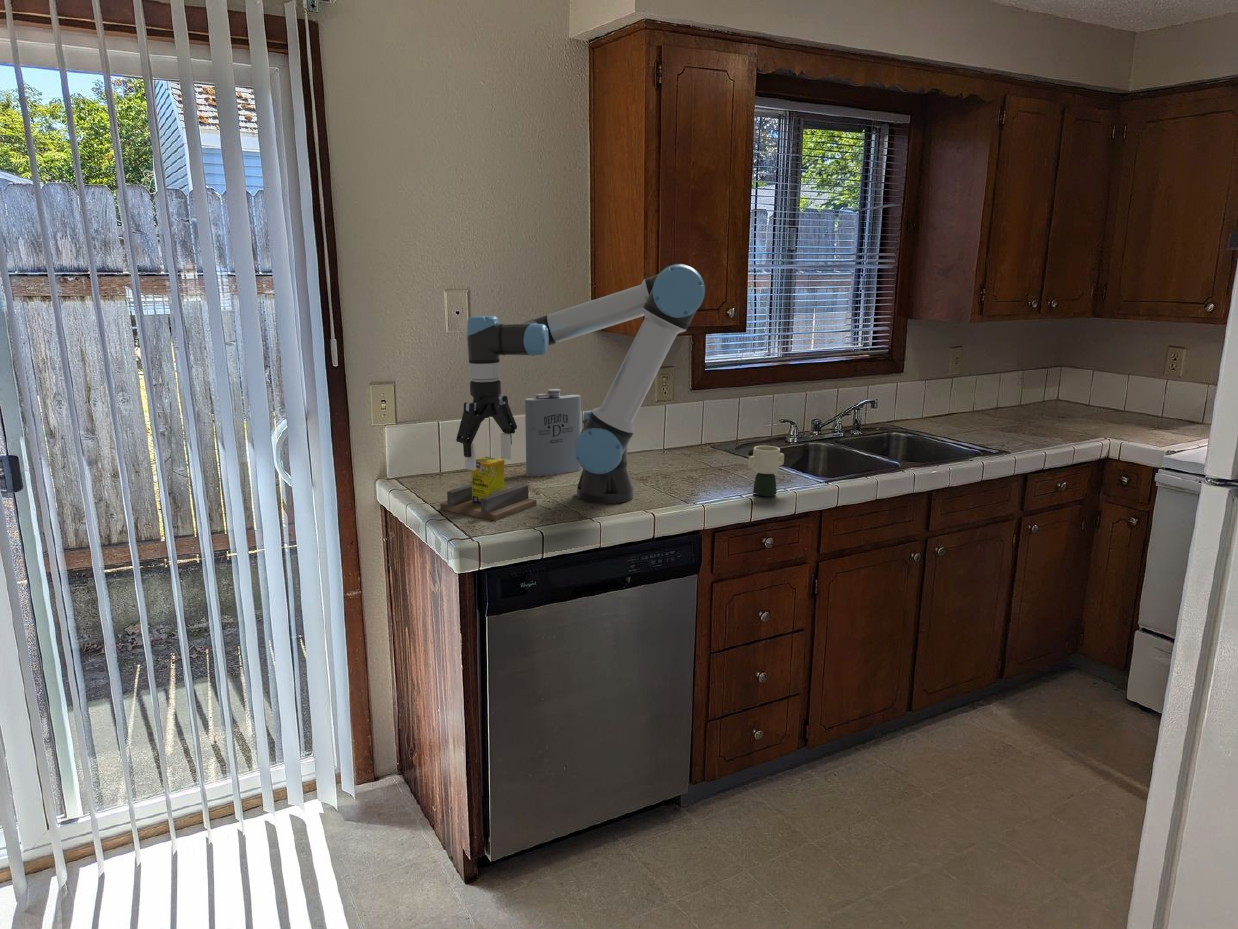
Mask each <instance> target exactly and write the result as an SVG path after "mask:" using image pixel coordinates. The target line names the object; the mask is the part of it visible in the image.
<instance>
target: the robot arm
mask: <svg viewBox="0 0 1238 929" xmlns="http://www.w3.org/2000/svg"><path fill="white" fill-rule="evenodd" d="M705 294H706V285H705V282H704V279H703V277H702V276H701V274H700V273H699V272H698V271H697V269H695V268H693V267H692V266H689V265H686V264H684V263H674V264H671V265H668V266H667V267H664V269H662V270H661V271H660V272H659V273H657V274H655V275H653V276H650V277H647V278H645V279H643V280H642V282H641V284H639V285H636V286H632V287H629V288H627V289H623V290H620V291H617V292H614V293H611V294H608V295H605V296H602V297H598V298H596V299H592V300H589V301H586V302H583V303H580V304H577V305H573V306H570V307H567V308H565V309H561V310H558V311H555V312H552V313H550V314H547V315H543V316H539V317H536V318H532V319H529V320H526V321H525V322H522V323H512V324H511V323H508V324H506V323H499V319H498V317H497V315H496V316H495V315H473V316H470V317H468V319H467V322H466V323H467V324H466V327H467V328H466V330H467V331H466V338H467V340H466V341H467V353H468V354H467V355H468V366H469V369H468V370H469V374H468V375H469V379H471V380H470V382H469V392H470V393H469V394H470V396H471V397H472V398H473V399H472V402H468V401H467V402H464V403H463V412H462V416H461V420H460V423H459V429H458V432H457V435H456V438H455V439H456V440H455V441H456V443H460V444H462V447H463V448H462V449H463V457H464V458H465V470H470V471H472V470H476V459H477V458H476V456H477V455H476V443H473V442H474V439H475V438H476V435H477V433H478V430H479V429H480V426H481V424H482V422H483V421H485V419H488V418H490V417H491V418H492V419H493V420H494V421H495V423H496V424H497V425H498V427H499V428H500V429H501V431H502V433H500V450H501V451H500V452H501V459H503V460H504V459H505V460H512V456H513V455H512V444H513V442H512V441H513V438H512V435H513V434H515V433H516V430H517V429H518V425H517V423H516V420H515V417H514V415H513V412H512V410H511V407H510V405H509V400H508V396H507V395H501V394H502V385H501V380H500V378H501V362H500V360H501V359H500V356H531V357H534V356H544V355H545V354H547V353H548V351H549V347H550V346H552V345H555V344H559V343H561V342H564V341H569V340H571V339H573V338H578V337H581V336H584V335H587V334H591V333H593V332H596V331H600V330H602V329H606V328H609V327H614V326H616V325H619V324H622V323H625V322H629V321H631V320H634V319H638V318H641V317H644V319H643V321H642V323H641V325H640V327H639V329H638V331H637V333H636V335H635V337H634V339H633V341H632V343H631V345H630V347H629V349H628V351H627V353H626V355H625V357H624V359H623V361H622V364H621V365H620V367H619V369H618V372H617V373H616V375H615V378H614V379H613V381H612V384H611V386H610V387H609V389H608V391H607V393H606V396H605V397H604V399H603V400H602V404H601V406H598V407H595V408H592V410H588V411H585V412H584V413H583V417H582V419H581V421H582V422H581V423H582V426H583V427H582V429H581V434H580V435H579V436H578V437H577V439H576V441H575V446H574V451H575V457H576V459H577V461H578V463H579V464H580V466H581V469H582V471H581V475H580V477H579V481H578V483H577V487H576V498H577V499H578V500H580V501H583V502H587V503H591V504H600V505H601V504H605V505H606V504H607V505H609V504H611V505H612V504H619V503H623V502H625V503H626V502H628V501H630V500H632V499H633V498H634V485H633V483H632V479H631V476H630V474H629V470H628V446H629V443H630V441H631V439H632V437H633V435H634V433H635V432H636V431H635V430H636V429H635V426H634V423H633V422H634V420H635V417H636V416H637V414H638V412H639V410H640V408H641V406H642V404H643V403H644V400H645V398H646V396H647V394H648V392H649V391H650V389H651V386H652V385H653V383H654V380H655V379H656V377H657V375H658V374H659V371H660V369H661V367H662V365H663V362H664V361H665V359H666V357H667V355H668V353H669V351H670V349H671V347H672V345H673V343H674V341H675V339H677V338H676V337H677V336H678V334H681V333H684V332H687V330H688V328H689V326H690V324H691V322H692V320H693V318H694V316H695V314H696V313H697V311H698V309H699V308H701V305H702V304H703V301H704V299H705Z"/></svg>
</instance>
